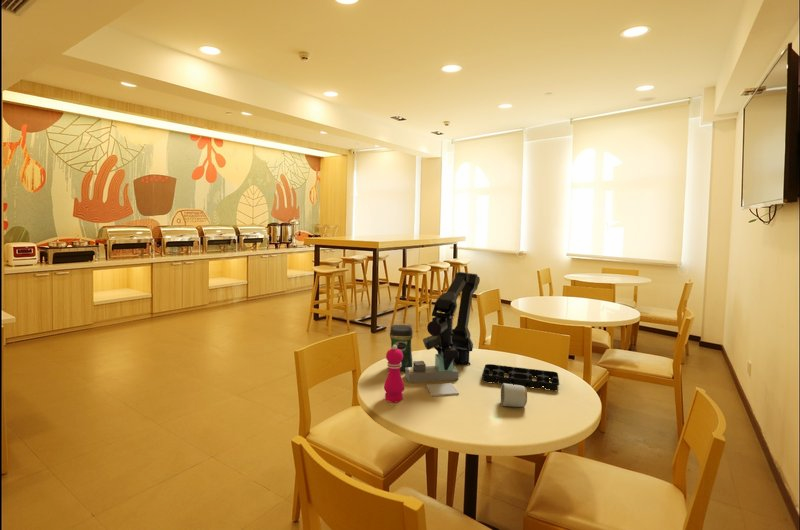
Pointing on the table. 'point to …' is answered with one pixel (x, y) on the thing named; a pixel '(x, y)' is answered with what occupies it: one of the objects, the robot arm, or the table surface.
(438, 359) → the green block
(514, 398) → the ceramic mug
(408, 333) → the coffee jar
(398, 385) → the pepper mill
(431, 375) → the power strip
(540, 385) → the egg carton
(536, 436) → the table surface
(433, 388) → the mat
